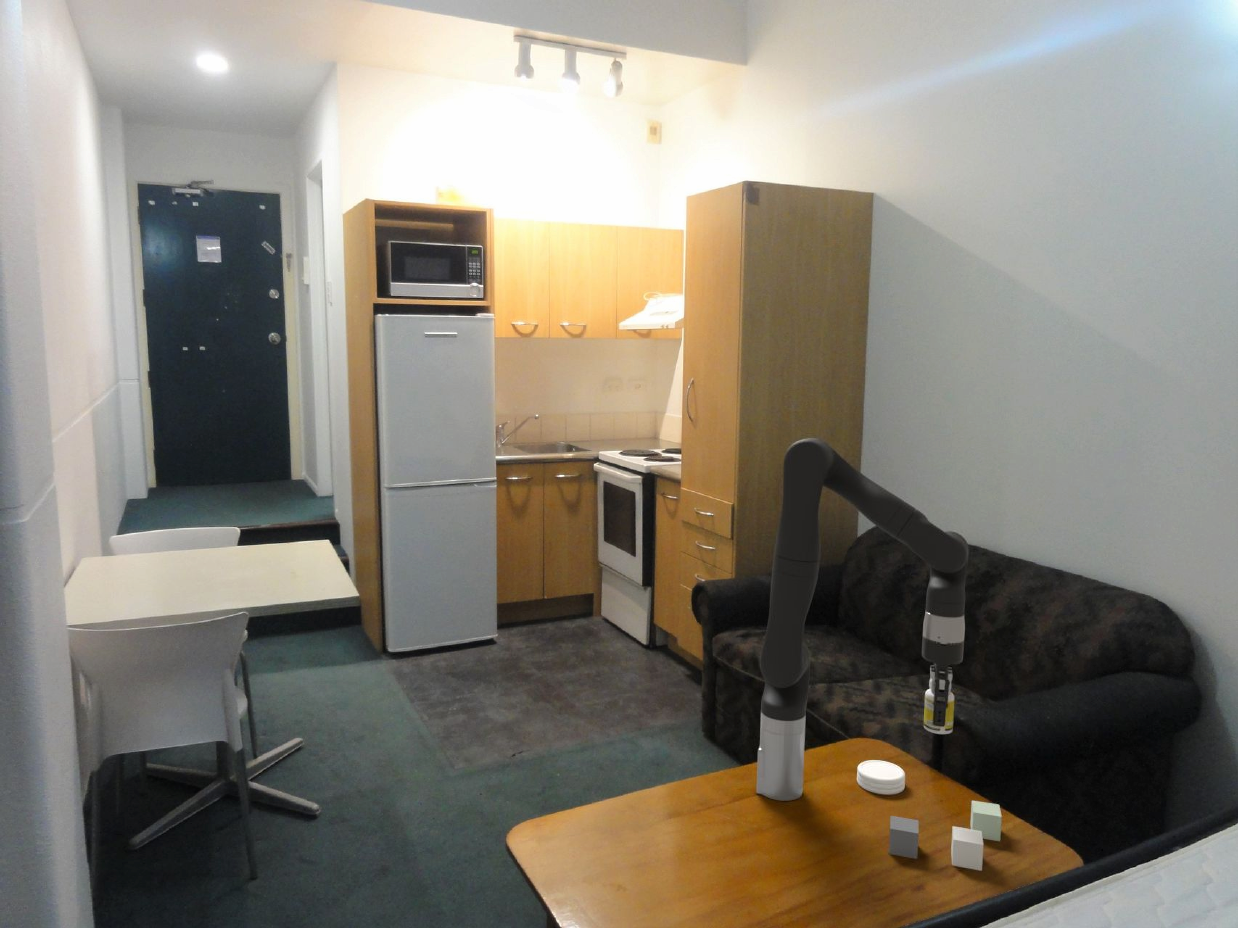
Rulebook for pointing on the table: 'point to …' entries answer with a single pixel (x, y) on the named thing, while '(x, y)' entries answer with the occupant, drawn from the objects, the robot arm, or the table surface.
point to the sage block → (986, 819)
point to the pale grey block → (967, 848)
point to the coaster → (881, 777)
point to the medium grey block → (903, 837)
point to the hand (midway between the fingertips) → (938, 719)
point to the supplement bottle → (929, 713)
